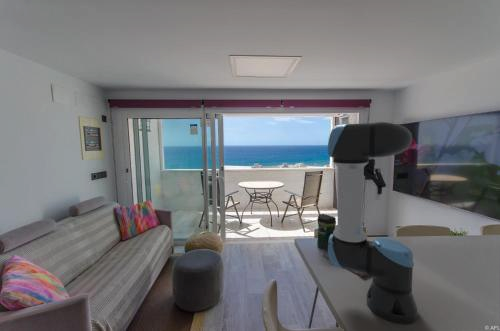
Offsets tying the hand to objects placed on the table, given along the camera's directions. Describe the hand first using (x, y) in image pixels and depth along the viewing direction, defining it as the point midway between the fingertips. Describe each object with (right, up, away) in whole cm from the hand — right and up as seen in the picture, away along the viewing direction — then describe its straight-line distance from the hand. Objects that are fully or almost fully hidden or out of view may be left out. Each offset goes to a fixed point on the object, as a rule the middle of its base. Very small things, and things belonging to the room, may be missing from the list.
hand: (366, 197), depth 123 cm
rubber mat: (-13, -30, -10) cm, 34 cm away
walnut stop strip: (-7, -30, -20) cm, 37 cm away
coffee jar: (-20, -29, +4) cm, 35 cm away
